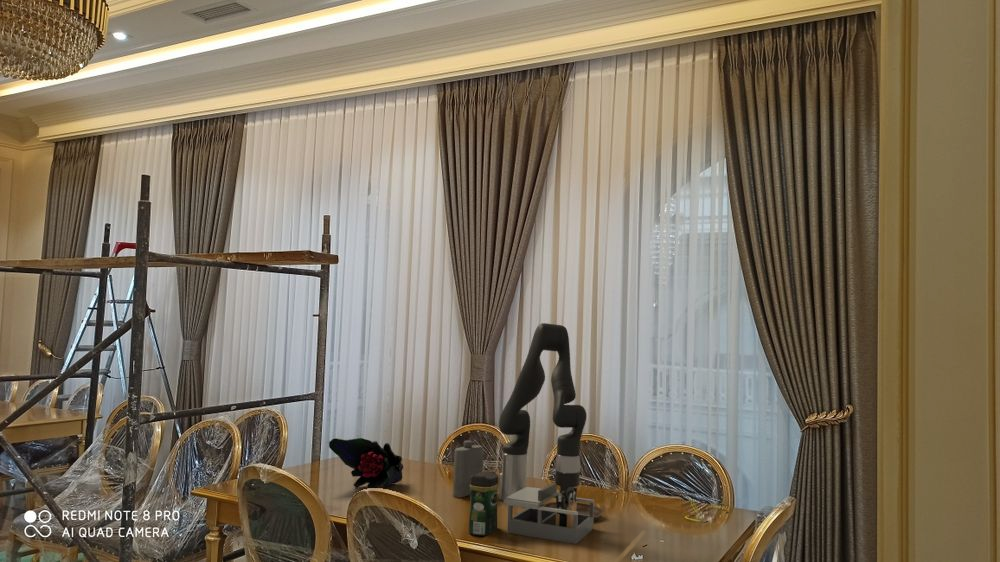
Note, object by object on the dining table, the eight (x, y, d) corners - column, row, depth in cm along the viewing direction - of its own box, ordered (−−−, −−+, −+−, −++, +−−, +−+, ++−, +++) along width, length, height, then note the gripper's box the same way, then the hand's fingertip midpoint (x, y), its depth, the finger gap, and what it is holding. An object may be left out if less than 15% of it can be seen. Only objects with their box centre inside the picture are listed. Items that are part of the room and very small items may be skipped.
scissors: (702, 526, 235) (703, 511, 235) (675, 518, 241) (676, 504, 242) (730, 513, 254) (731, 499, 254) (705, 506, 260) (705, 493, 261)
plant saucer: (604, 513, 245) (605, 504, 245) (601, 529, 225) (601, 519, 225) (546, 508, 249) (547, 499, 249) (538, 523, 229) (538, 513, 229)
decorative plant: (399, 509, 275) (358, 504, 249) (354, 475, 287) (311, 467, 261) (426, 463, 277) (388, 453, 251) (381, 431, 290) (340, 418, 264)
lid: (503, 503, 213) (504, 488, 214) (527, 491, 231) (528, 477, 232) (538, 508, 209) (538, 493, 209) (559, 495, 227) (559, 481, 227)
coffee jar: (478, 527, 221) (480, 468, 223) (500, 530, 218) (502, 470, 219) (463, 534, 213) (466, 473, 214) (487, 538, 209) (489, 476, 211)
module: (555, 530, 214) (556, 503, 214) (560, 526, 219) (561, 500, 219) (570, 532, 212) (571, 506, 212) (575, 528, 216) (576, 502, 217)
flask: (472, 489, 273) (474, 438, 275) (484, 492, 270) (486, 439, 272) (448, 496, 261) (450, 442, 262) (460, 498, 258) (462, 444, 259)
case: (507, 535, 213) (508, 502, 214) (528, 521, 229) (529, 491, 230) (576, 547, 204) (577, 512, 205) (593, 531, 221) (594, 499, 221)
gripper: (563, 464, 224) (561, 517, 223) (548, 471, 211) (546, 528, 210) (585, 466, 221) (584, 521, 220) (572, 475, 208) (570, 532, 207)
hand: (565, 524), depth 215 cm, fingers closed on module, 5 cm apart
